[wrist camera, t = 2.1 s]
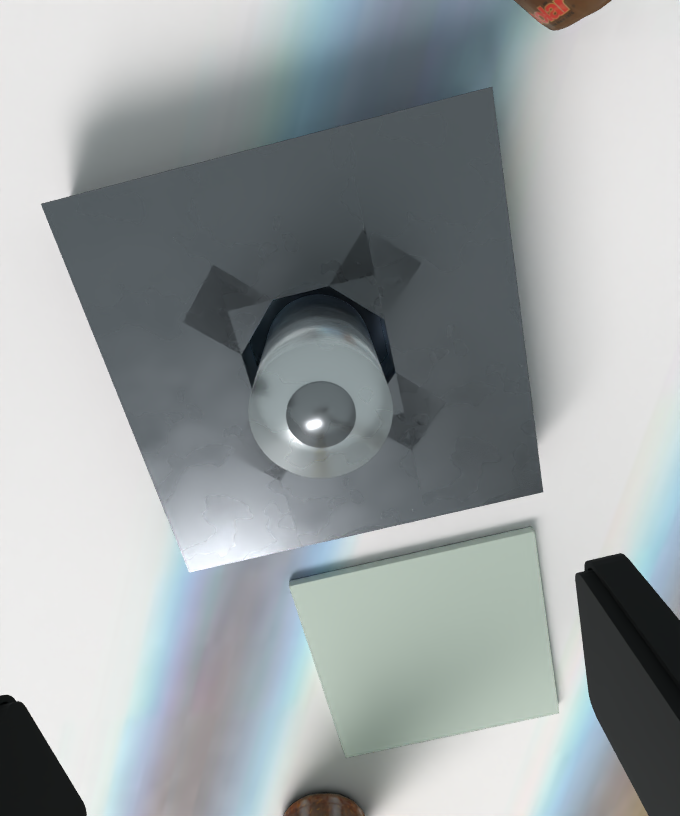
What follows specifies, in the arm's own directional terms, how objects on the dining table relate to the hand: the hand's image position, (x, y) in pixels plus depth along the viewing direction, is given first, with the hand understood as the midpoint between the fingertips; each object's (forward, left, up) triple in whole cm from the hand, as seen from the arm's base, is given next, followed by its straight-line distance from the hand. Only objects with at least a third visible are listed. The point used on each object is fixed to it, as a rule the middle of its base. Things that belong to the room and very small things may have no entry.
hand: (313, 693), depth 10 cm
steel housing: (0, 0, -21) cm, 21 cm away
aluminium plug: (0, 0, -21) cm, 21 cm away
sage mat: (-2, +20, -21) cm, 29 cm away
